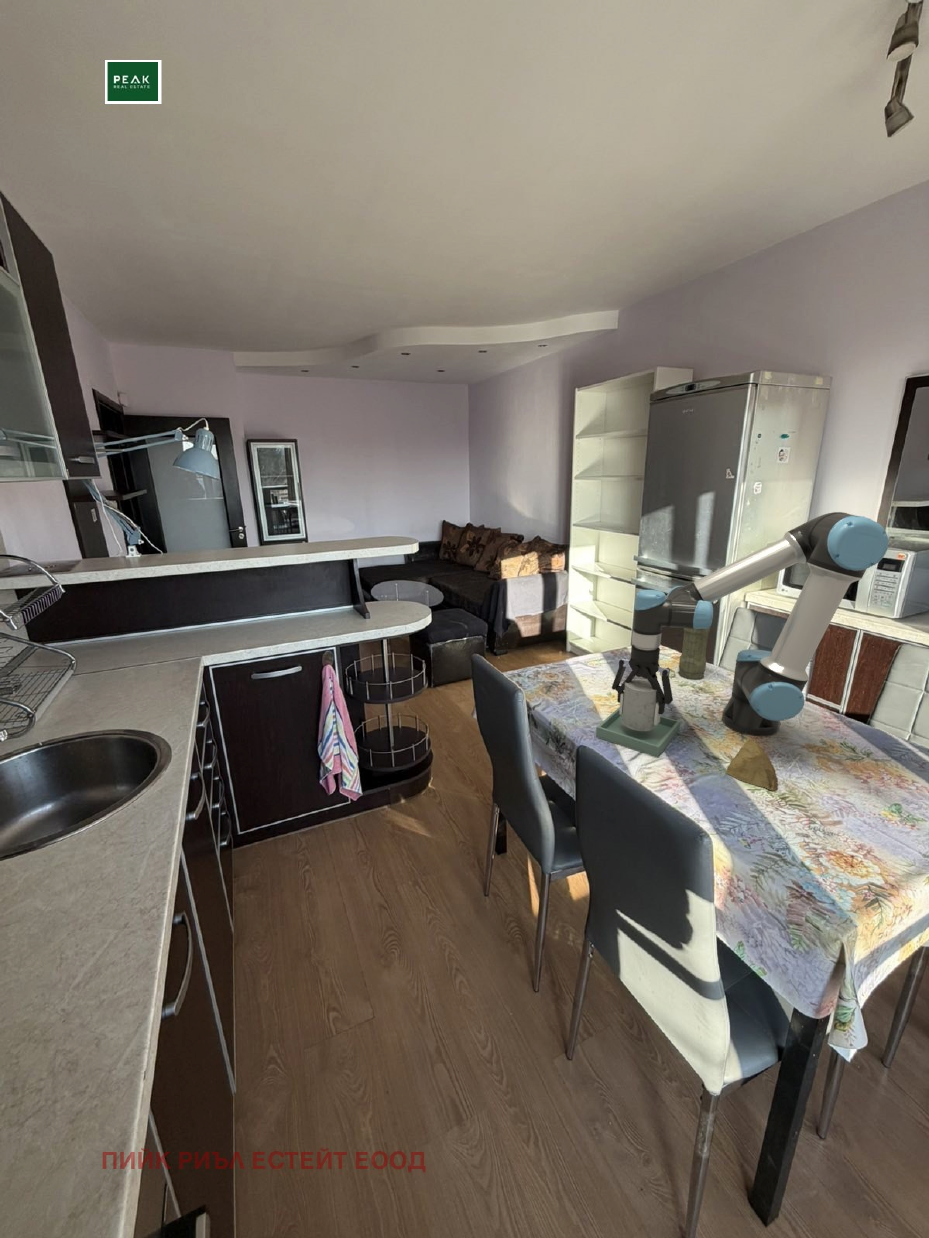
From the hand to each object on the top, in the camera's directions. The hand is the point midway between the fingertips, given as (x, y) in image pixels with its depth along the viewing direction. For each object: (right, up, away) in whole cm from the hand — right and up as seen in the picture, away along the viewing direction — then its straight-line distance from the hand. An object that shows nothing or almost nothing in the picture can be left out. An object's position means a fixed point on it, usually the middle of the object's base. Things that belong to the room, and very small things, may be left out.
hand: (639, 717), depth 148 cm
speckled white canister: (0, -2, +1) cm, 2 cm away
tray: (0, -5, +2) cm, 5 cm away
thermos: (+33, +8, +41) cm, 53 cm away
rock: (+21, -12, -21) cm, 32 cm away
